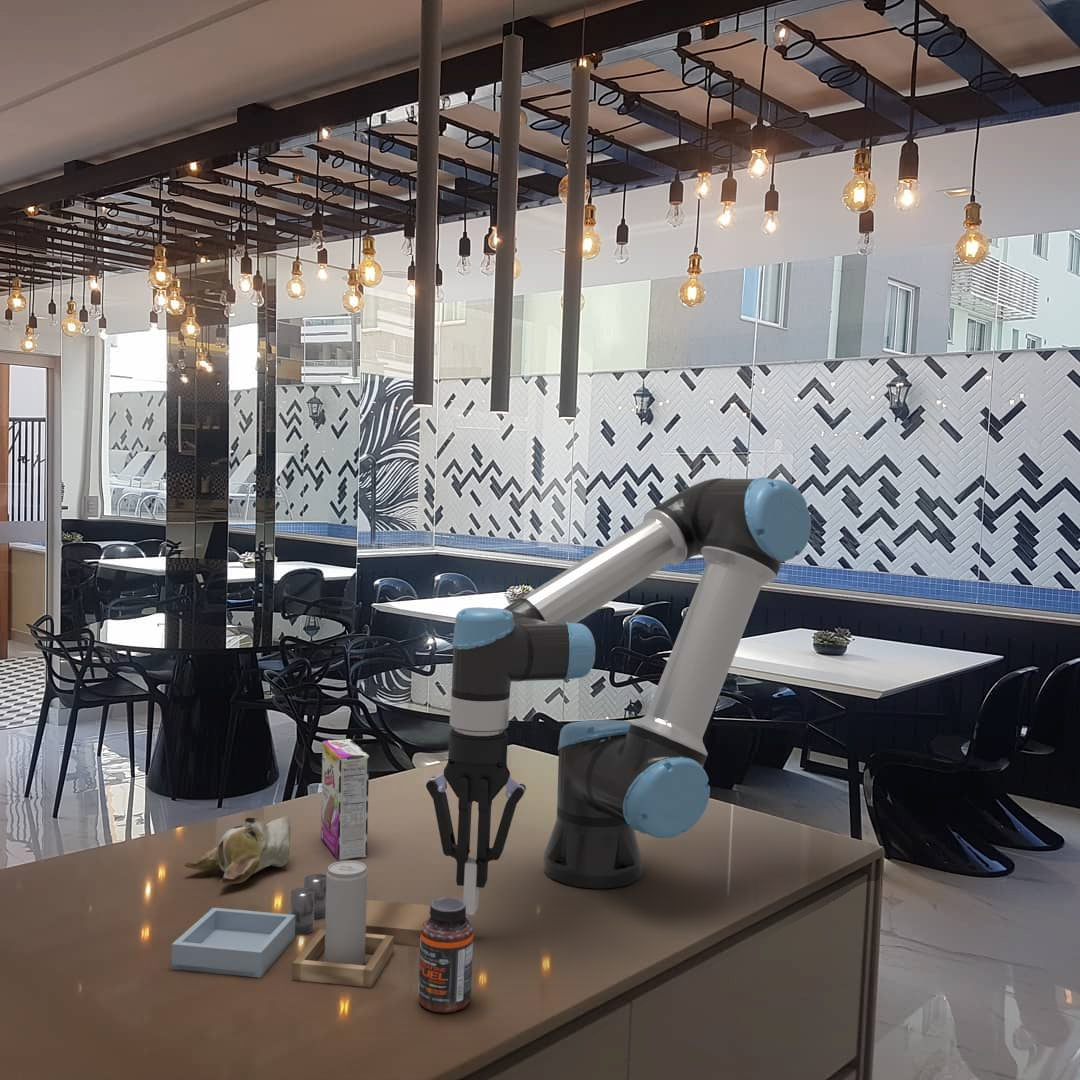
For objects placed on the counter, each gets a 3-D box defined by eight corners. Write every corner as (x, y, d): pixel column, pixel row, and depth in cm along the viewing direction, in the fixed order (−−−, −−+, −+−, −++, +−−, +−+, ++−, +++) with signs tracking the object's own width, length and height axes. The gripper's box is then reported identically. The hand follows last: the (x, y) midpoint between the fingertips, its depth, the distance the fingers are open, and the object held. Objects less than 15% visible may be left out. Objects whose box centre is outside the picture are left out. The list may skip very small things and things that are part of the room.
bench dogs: (329, 911, 140) (330, 874, 140) (308, 935, 132) (309, 897, 132) (308, 909, 140) (309, 873, 140) (286, 933, 132) (287, 895, 132)
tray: (294, 938, 131) (295, 914, 131) (260, 977, 120) (261, 952, 120) (212, 930, 133) (213, 907, 132) (171, 969, 122) (171, 944, 122)
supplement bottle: (407, 1007, 115) (410, 907, 114) (434, 985, 120) (437, 889, 120) (455, 1020, 112) (458, 917, 112) (480, 996, 118) (483, 899, 117)
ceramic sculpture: (309, 812, 154) (222, 842, 143) (311, 868, 155) (224, 902, 144) (267, 798, 161) (180, 824, 150) (269, 851, 162) (182, 882, 150)
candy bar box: (318, 839, 168) (321, 740, 168) (348, 836, 171) (351, 737, 170) (336, 862, 158) (339, 756, 158) (368, 858, 161) (371, 754, 160)
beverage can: (355, 976, 121) (358, 876, 121) (317, 971, 122) (320, 872, 122) (370, 959, 126) (373, 862, 126) (333, 954, 127) (336, 858, 126)
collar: (393, 951, 128) (393, 935, 128) (371, 987, 119) (371, 970, 119) (319, 944, 129) (320, 929, 129) (292, 979, 120) (292, 962, 120)
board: (437, 924, 138) (438, 906, 138) (423, 950, 130) (424, 930, 130) (364, 918, 139) (365, 899, 139) (346, 943, 131) (347, 923, 131)
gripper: (533, 726, 135) (524, 904, 136) (435, 719, 137) (427, 894, 138) (525, 739, 128) (515, 927, 128) (422, 731, 129) (413, 916, 130)
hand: (470, 910), depth 133 cm, fingers closed
